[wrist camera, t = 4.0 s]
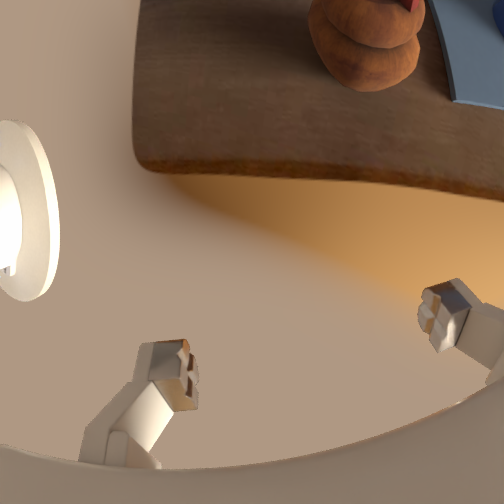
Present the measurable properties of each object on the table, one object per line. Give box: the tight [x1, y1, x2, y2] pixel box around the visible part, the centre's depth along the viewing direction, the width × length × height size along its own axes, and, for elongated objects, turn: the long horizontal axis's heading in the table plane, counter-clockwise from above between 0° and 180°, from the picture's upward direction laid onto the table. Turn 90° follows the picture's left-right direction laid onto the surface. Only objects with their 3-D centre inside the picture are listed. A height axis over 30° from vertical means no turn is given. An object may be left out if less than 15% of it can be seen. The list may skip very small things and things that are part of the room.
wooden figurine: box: [308, 0, 425, 92], centre depth 10 cm, size 7×6×15 cm
